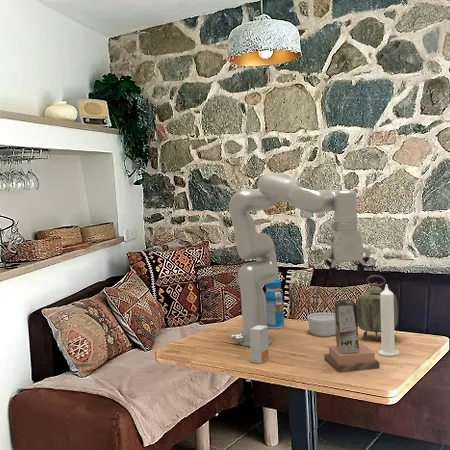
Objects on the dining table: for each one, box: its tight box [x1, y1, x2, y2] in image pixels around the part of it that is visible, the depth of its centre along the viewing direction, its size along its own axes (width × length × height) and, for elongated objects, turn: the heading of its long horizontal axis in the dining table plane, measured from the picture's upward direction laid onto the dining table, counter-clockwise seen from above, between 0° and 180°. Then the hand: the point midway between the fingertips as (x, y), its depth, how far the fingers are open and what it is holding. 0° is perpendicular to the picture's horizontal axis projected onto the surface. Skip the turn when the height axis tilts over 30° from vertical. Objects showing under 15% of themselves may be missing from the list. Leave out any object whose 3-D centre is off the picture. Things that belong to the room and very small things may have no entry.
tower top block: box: [328, 342, 376, 365], centre depth 202 cm, size 12×12×3 cm
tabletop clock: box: [356, 274, 399, 342], centre depth 229 cm, size 14×9×25 cm, turn 63°
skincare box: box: [249, 325, 270, 364], centre depth 210 cm, size 6×4×12 cm
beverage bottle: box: [264, 279, 285, 330], centre depth 256 cm, size 8×8×20 cm
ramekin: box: [307, 312, 336, 337], centre depth 243 cm, size 13×13×7 cm
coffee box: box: [333, 299, 360, 353], centre depth 201 cm, size 9×6×16 cm
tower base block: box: [323, 353, 380, 374], centre depth 202 cm, size 14×14×3 cm
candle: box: [377, 283, 400, 357], centre depth 211 cm, size 7×7×25 cm
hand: (347, 277), depth 200 cm, fingers open, 9 cm apart
